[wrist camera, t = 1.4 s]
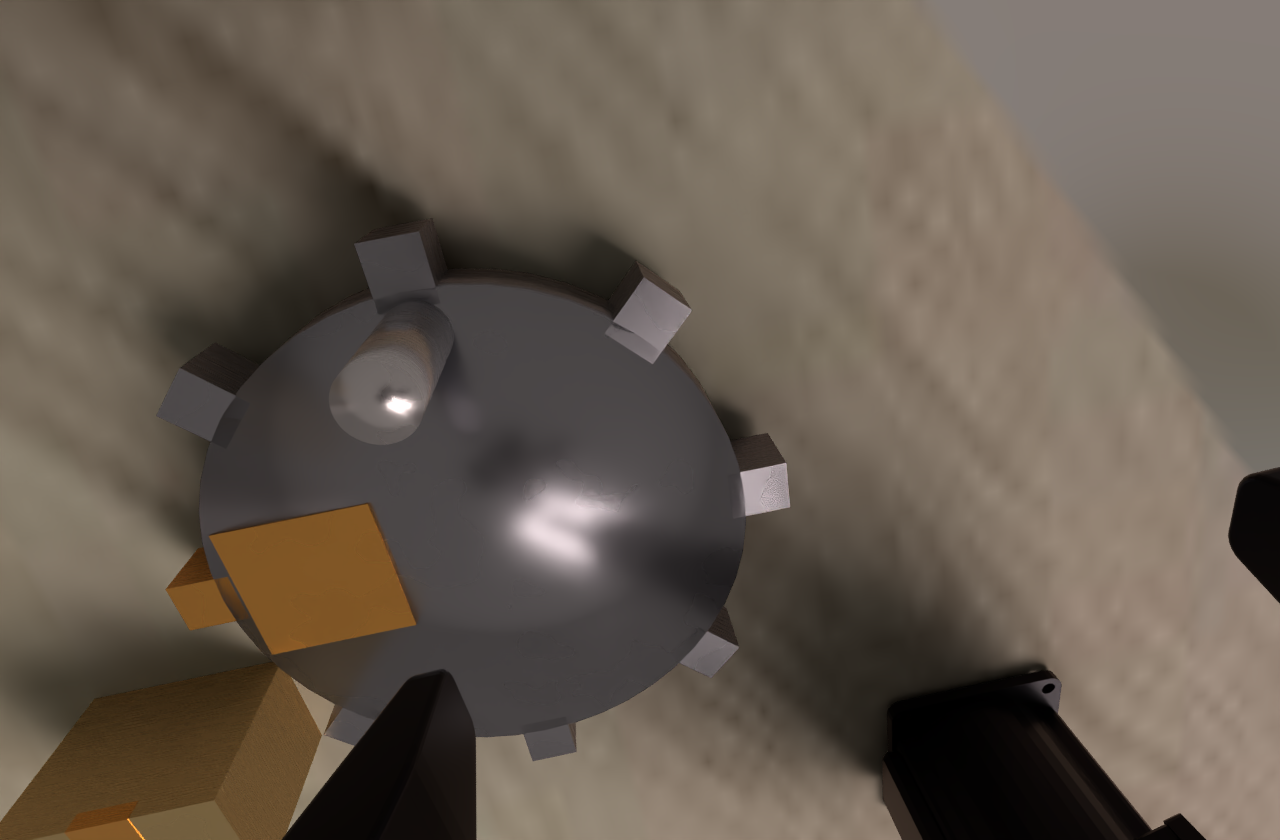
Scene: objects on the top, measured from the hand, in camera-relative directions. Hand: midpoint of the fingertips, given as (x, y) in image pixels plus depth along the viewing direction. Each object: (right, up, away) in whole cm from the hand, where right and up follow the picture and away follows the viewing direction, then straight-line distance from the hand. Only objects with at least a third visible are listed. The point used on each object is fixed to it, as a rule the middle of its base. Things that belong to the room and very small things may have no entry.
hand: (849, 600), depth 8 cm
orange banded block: (-16, -8, +15) cm, 24 cm away
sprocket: (-7, 0, +13) cm, 14 cm away
